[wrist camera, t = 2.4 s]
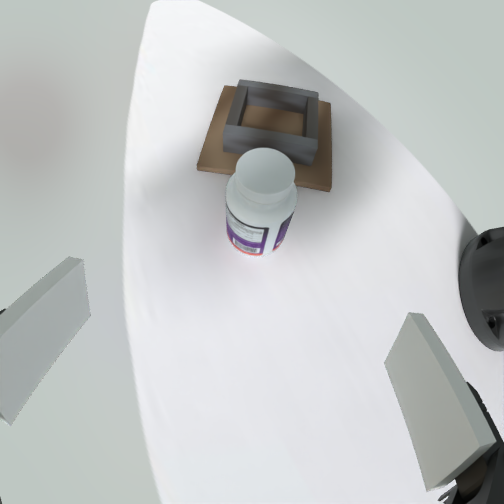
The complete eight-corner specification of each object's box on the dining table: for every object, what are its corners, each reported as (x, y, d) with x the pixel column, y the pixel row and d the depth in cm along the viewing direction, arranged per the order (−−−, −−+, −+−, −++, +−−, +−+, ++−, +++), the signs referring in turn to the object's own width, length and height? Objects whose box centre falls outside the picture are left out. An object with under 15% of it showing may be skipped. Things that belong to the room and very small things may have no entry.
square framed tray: (329, 107, 36) (336, 86, 32) (329, 191, 31) (340, 171, 27) (224, 89, 36) (224, 67, 32) (197, 170, 31) (194, 146, 27)
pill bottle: (268, 199, 30) (283, 132, 21) (293, 245, 28) (320, 189, 19) (217, 218, 29) (213, 152, 20) (240, 267, 27) (244, 216, 18)
